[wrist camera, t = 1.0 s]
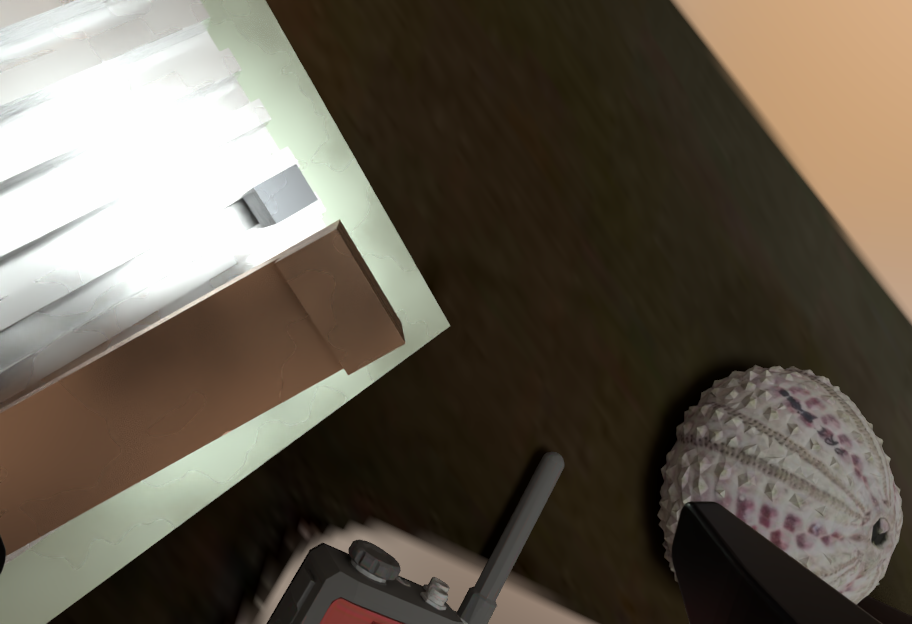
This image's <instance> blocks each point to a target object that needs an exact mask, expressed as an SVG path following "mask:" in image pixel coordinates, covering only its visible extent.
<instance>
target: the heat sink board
mask: <svg viewBox="0 0 912 624" xmlns="http://www.w3.org/2000/svg"><path fill="white" fill-rule="evenodd" d="M339 219H340V220H341V222H342V224H343V225H344V227H345V229H346V230H347V232H348V234H349V235H350V237H351V239H352V241H353V242H354V244H355V246H356V247H357V249H358V251H359V252H360V254H361V256H362V257H363V259H364V261H365V262H366V264H367V266H368V267H369V269H370V271H371V272H372V274H373V276H374V277H375V279H376V281H377V282H378V284H379V286H380V287H381V289H382V291H383V292H384V294H385V296H386V297H387V299H388V301H389V302H390V304H391V306H392V307H393V309H394V311H395V312H396V314H397V316H398V317H399V319H400V321H401V322H402V327H403V332H404V338H405V343H406V344H404V345H402V346H400V347H399V348H397V349H395V350H393V351H391V352H390V353H388V354H386V355H384V356H382V357H381V358H379V359H377V360H375V361H373V362H372V363H370V364H368V365H366V366H364V367H363V368H361V369H359V370H357V371H355V372H354V373H352V374H350V375H348V374H347V373H346V371H345V370H344V369H342V370H340V371H338V372H337V373H335V374H333V375H331V376H329V377H328V378H326V379H324V380H322V381H320V382H319V383H317V384H315V385H313V386H311V387H310V388H308V389H306V390H304V391H302V392H301V393H299V394H297V395H295V396H293V397H292V398H290V399H288V400H286V401H284V402H283V403H281V404H279V405H277V406H275V407H274V408H272V409H270V410H268V411H266V412H265V413H263V414H261V415H259V416H257V417H256V418H254V419H252V420H250V421H248V422H247V423H245V424H243V425H241V426H239V427H238V428H236V429H234V430H232V431H230V432H229V433H227V434H225V435H223V436H221V437H220V438H218V439H216V440H214V441H212V442H211V443H209V444H207V445H205V446H203V447H202V448H200V449H198V450H196V451H194V452H193V453H191V454H189V455H187V456H185V457H184V458H182V459H180V460H178V461H176V462H175V463H173V464H171V465H169V466H167V467H166V468H164V469H162V470H160V471H158V472H157V473H155V474H153V475H151V476H149V477H148V478H146V479H144V480H142V481H140V482H139V483H137V484H135V485H133V486H131V487H130V488H128V489H126V490H124V491H122V492H121V493H119V494H117V495H115V496H113V497H112V498H110V499H108V500H106V501H104V502H103V503H101V504H99V505H97V506H95V507H94V508H92V509H90V510H88V511H86V512H85V513H83V514H81V515H79V516H77V517H76V518H74V519H72V520H70V521H68V522H67V523H65V524H63V525H61V526H59V527H58V528H56V529H54V530H52V531H50V532H49V533H47V534H45V535H43V536H41V537H40V538H38V539H36V540H34V541H32V542H31V543H29V544H27V545H25V546H23V547H22V548H20V549H18V550H16V551H14V552H13V553H11V554H9V555H7V556H6V559H5V564H4V567H3V570H2V572H1V574H0V624H46V623H48V622H49V621H50V620H52V619H53V618H54V617H56V616H57V615H58V614H60V613H61V612H63V611H64V610H65V609H67V608H68V607H69V606H71V605H72V604H73V603H75V602H76V601H77V600H79V599H80V598H82V597H83V596H84V595H86V594H87V593H88V592H90V591H91V590H92V589H94V588H95V587H96V586H98V585H99V584H101V583H102V582H103V581H105V580H106V579H107V578H109V577H110V576H111V575H113V574H114V573H115V572H117V571H118V570H120V569H121V568H122V567H124V566H125V565H126V564H128V563H129V562H130V561H132V560H133V559H134V558H136V557H137V556H139V555H140V554H141V553H143V552H144V551H145V550H147V549H148V548H149V547H151V546H152V545H153V544H155V543H156V542H158V541H159V540H160V539H162V538H163V537H164V536H166V535H167V534H168V533H170V532H171V531H172V530H174V529H175V528H177V527H178V526H179V525H181V524H182V523H183V522H185V521H186V520H187V519H189V518H190V517H191V516H193V515H194V514H196V513H197V512H198V511H200V510H201V509H202V508H204V507H205V506H206V505H208V504H209V503H210V502H212V501H213V500H214V499H216V498H217V497H219V496H220V495H221V494H223V493H224V492H225V491H227V490H228V489H229V488H231V487H232V486H233V485H235V484H236V483H238V482H239V481H240V480H242V479H243V478H244V477H246V476H247V475H248V474H250V473H251V472H252V471H254V470H255V469H257V468H258V467H259V466H261V465H262V464H263V463H265V462H266V461H267V460H269V459H270V458H271V457H273V456H274V455H276V454H277V453H278V452H280V451H281V450H282V449H284V448H285V447H286V446H288V445H289V444H290V443H292V442H293V441H295V440H296V439H297V438H299V437H300V436H301V435H303V434H304V433H305V432H307V431H308V430H309V429H311V428H312V427H314V426H315V425H316V424H318V423H319V422H320V421H322V420H323V419H324V418H326V417H327V416H328V415H330V414H331V413H333V412H334V411H335V410H337V409H338V408H339V407H341V406H342V405H343V404H345V403H346V402H347V401H349V400H350V399H352V398H353V397H354V396H356V395H357V394H358V393H360V392H361V391H362V390H364V389H365V388H366V387H368V386H369V385H371V384H372V383H373V382H375V381H376V380H377V379H379V378H380V377H381V376H383V375H384V374H385V373H387V372H388V371H390V370H391V369H392V368H394V367H395V366H396V365H398V364H399V363H400V362H402V361H403V360H404V359H406V358H407V357H409V356H410V355H411V354H413V353H414V352H415V351H417V350H418V349H419V348H421V347H422V346H423V345H425V344H426V343H428V342H429V341H430V340H432V339H433V338H434V337H436V336H437V335H438V334H440V333H441V332H442V331H444V330H445V329H447V328H448V327H449V326H450V325H449V323H448V321H447V319H446V318H445V316H444V314H443V312H442V311H441V309H440V307H439V305H438V304H437V302H436V300H435V298H434V296H433V295H432V293H431V291H430V289H429V288H428V286H427V284H426V282H425V281H424V279H423V277H422V275H421V274H420V272H419V270H418V268H417V267H416V265H415V263H414V261H413V260H412V258H411V256H410V254H409V252H408V251H407V249H406V247H405V245H404V244H403V242H402V240H401V238H400V237H399V235H398V233H397V231H396V230H395V228H394V226H393V224H392V223H391V221H390V219H389V217H388V216H387V214H386V212H385V210H384V208H383V207H382V205H381V203H380V201H379V200H378V198H377V196H376V194H375V193H374V191H373V189H372V187H371V186H370V184H369V182H368V180H367V179H366V177H365V175H364V173H363V172H362V170H361V168H360V166H359V164H358V163H357V161H356V159H355V157H354V156H353V154H352V152H351V150H350V149H349V147H348V145H347V143H346V142H345V140H344V138H343V136H342V135H341V133H340V131H339V129H338V128H337V126H336V124H335V122H334V120H333V119H332V117H331V115H330V113H329V112H328V110H327V108H326V106H325V105H324V103H323V101H322V99H321V98H320V96H319V94H318V92H317V91H316V89H315V87H314V85H313V84H312V82H311V80H310V78H309V77H308V75H307V73H306V71H305V69H304V68H303V66H302V64H301V62H300V61H299V59H298V57H297V55H296V54H295V52H294V50H293V48H292V47H291V45H290V43H289V41H288V40H287V38H286V36H285V34H284V33H283V31H282V29H281V27H280V25H279V24H278V22H277V20H276V18H275V17H274V15H273V13H272V11H271V10H270V8H269V6H268V4H267V3H266V1H265V0H0V409H1V408H3V407H5V406H6V405H8V404H10V403H12V402H14V401H15V400H17V399H19V398H21V397H23V396H24V395H26V394H28V393H30V392H31V391H33V390H35V389H37V388H39V387H40V386H42V385H44V384H46V383H48V382H49V381H51V380H53V379H55V378H57V377H58V376H60V375H62V374H64V373H66V372H67V371H69V370H71V369H73V368H74V367H76V366H78V365H80V364H82V363H83V362H85V361H87V360H89V359H91V358H92V357H94V356H96V355H98V354H100V353H101V352H103V351H105V350H107V349H108V348H110V347H112V346H114V345H116V344H117V343H119V342H121V341H123V340H125V339H126V338H128V337H130V336H132V335H134V334H135V333H137V332H139V331H141V330H143V329H144V328H146V327H148V326H150V325H151V324H153V323H155V322H157V321H159V320H160V319H162V318H164V317H166V316H168V315H169V314H171V313H173V312H175V311H177V310H178V309H180V308H182V307H184V306H185V305H187V304H189V303H191V302H193V301H194V300H196V299H198V298H200V297H202V296H203V295H205V294H207V293H209V292H211V291H212V290H214V289H216V288H218V287H220V286H221V285H223V284H225V283H227V282H228V281H230V280H232V279H234V278H236V277H237V276H239V275H241V274H243V273H245V272H246V271H248V270H250V269H252V268H254V267H255V266H257V265H259V264H261V263H262V262H264V261H266V260H268V259H270V258H271V257H273V256H275V255H277V254H279V253H280V252H282V251H284V250H286V249H288V248H289V247H291V246H293V245H295V244H297V243H298V242H300V241H302V240H304V239H305V238H307V237H309V236H311V235H313V234H314V233H316V232H318V231H320V230H322V229H323V228H325V227H327V226H329V225H331V224H332V223H334V222H336V221H338V220H339Z"/></svg>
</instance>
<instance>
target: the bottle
mask: <svg viewBox="0 0 912 624" xmlns="http://www.w3.org/2000/svg"><path fill="white" fill-rule="evenodd" d="M857 605H858V606H859V607H860V608H862V609H863V610H864V611H866V612H867V613H868V614H870V615H871V616H873V617H874V618H875V619H877V620H878V621H879V622H881V623H882V624H912V616H910V615H908V614H906V613H904V612H902V611H900V610H897V609H895V608H893V607H891V606H889V605H887V604H884V603H882V602H880V601H878V600H876V599H874V598H871V597H869V596H866V597H865V598H863V599H862V600H861V601H860V602H859V603H858V604H857Z"/></svg>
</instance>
